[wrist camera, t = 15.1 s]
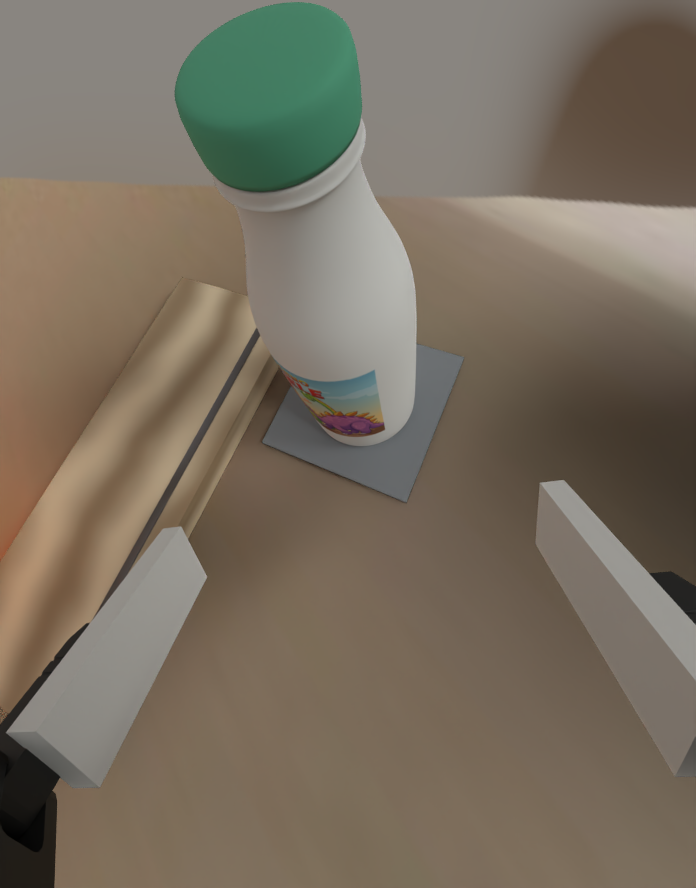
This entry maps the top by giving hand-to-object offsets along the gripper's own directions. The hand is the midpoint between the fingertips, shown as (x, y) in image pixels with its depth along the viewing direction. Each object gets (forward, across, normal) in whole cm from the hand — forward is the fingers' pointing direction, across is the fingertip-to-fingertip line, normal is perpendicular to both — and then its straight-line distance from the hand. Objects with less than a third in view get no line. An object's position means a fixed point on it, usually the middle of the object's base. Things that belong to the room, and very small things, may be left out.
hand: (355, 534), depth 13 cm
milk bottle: (+16, 0, -1) cm, 16 cm away
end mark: (+16, 0, -1) cm, 16 cm away
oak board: (+13, -18, -3) cm, 23 cm away
